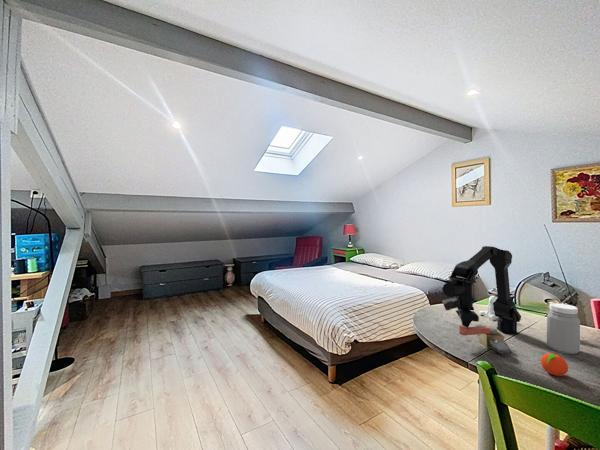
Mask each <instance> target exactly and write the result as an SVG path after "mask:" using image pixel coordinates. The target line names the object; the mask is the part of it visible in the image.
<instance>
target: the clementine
mask: <svg viewBox="0 0 600 450" xmlns="http://www.w3.org/2000/svg"><path fill="white" fill-rule="evenodd" d="M540 364H541V366H542V368H543V369H544V371H545V372H547V373H548V374H550V375H553V376H556V377H561V376H564V375H566V374H567V373H568V371H569V366H568V363H567V361H566V360H565V359H564V358H563V357H562V356H560V355H558V354H557V353H550V352H549V353H545V354H544V355H542V356H541V358H540Z"/></svg>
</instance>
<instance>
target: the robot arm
mask: <svg viewBox="0 0 600 450" xmlns="http://www.w3.org/2000/svg"><path fill="white" fill-rule="evenodd" d="M512 259H513V254H512V252H511V251H509V250H508V249H500V248H498V247H495V246H490V245H483V246H481V249H480V250H479V251H478V252H477V253H475V254H474V255H473V256H472V257H470V258H469V259H468V260H465V261H461V262H459V263H456V264H455V266H454V268H453V269H452V271H451V274H450V277H449V278H448V279H447V280H446V283H444V284H443V286H442V292H443V294H444V295H445V296H446V297H448V298H447V299H446V298H445V299H443V300H442V301H441V302H442V305H443V307H444V309H445V311H450V310H453V309H457V310H455V312H456V314H457V316H458V317H459V319H460V322H461V326H466V327H470V325H471V323H472V322H478V323H479V321H480V315H479V314H477V313H476V311H475V307H474V301H475V298H474V290H473V289H474V284H475V283H477V282H476V280H475V277H476V276H477V275H479V269H480V267H482V266H483V265H484V264H486V263H487V262H488V261H489V264H491V266H492V267H493V269H494V274H495V283H496V294H497V296H496V297H497V299H496V301H495V302H493V306H494V308H493V310H494V312H495V316H496V317H499V318H498V319H497V325H496V330H498V331H500V332H501V333H502V334H510V335H519V334H520V332H518V329H517V328H518V323H521V322H520V321H521V319H522V315H521V314H520V312H519V311H518V310H517V305H516V303H515V301H514V300H513V299H512V298H511V289H510V279H509V278H510V277H509V267H510V266H511V264H512V261H513V260H512Z"/></svg>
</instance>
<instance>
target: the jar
mask: <svg viewBox="0 0 600 450" xmlns="http://www.w3.org/2000/svg"><path fill="white" fill-rule="evenodd" d="M548 312H549V313H548V314H547V315H546V345H548V347H549V348H550V349H551V350H554V351H556V352H558V353H562V354H567V355H577V354H578V353H579V352H580V351H581V350H580V349H581V347H580V345H581V320H580V318H579V317H578V316H579V315H578V313H579V308H578V307H577V306H575V305H571V304H567V303H561V302H552V303H551V302H550V303H549V311H548Z"/></svg>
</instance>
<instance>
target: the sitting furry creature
mask: <svg viewBox="0 0 600 450" xmlns="http://www.w3.org/2000/svg"><path fill="white" fill-rule="evenodd" d="M497 298H498V297H497V296H496V295H490V296H489V298H488V304H487V305H486V310H481V311H478V315H479V314H480V315H479V316H481V315H486V318H488V319H489V321H491V320H493V321H495V320H499V317H496V316H495V312H494V310H493V308H494V306H493V302H495V301H496V299H497Z"/></svg>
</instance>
